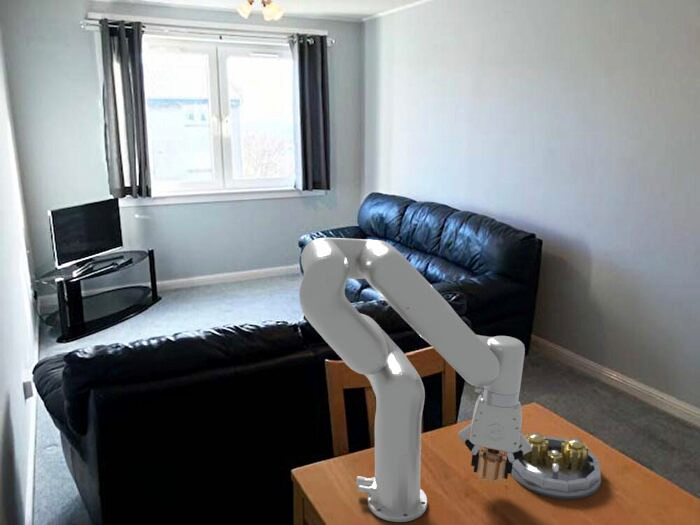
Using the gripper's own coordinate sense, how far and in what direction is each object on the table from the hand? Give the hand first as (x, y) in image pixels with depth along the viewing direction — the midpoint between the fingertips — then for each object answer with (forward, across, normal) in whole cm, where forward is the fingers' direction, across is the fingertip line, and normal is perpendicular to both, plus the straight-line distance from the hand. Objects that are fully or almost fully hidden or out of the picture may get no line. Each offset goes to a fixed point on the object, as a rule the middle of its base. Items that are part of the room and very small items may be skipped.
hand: (490, 471), depth 124 cm
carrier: (+4, +14, +12) cm, 19 cm away
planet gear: (+1, 0, 0) cm, 1 cm away
